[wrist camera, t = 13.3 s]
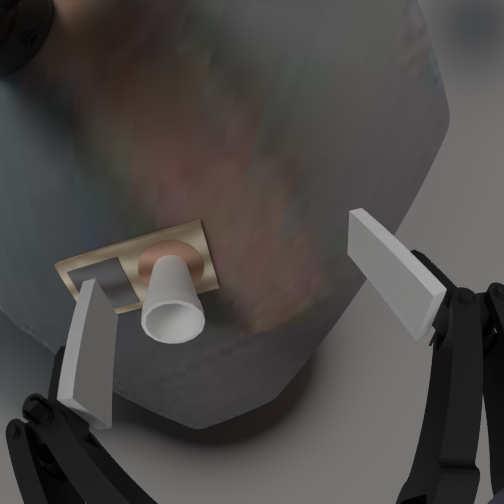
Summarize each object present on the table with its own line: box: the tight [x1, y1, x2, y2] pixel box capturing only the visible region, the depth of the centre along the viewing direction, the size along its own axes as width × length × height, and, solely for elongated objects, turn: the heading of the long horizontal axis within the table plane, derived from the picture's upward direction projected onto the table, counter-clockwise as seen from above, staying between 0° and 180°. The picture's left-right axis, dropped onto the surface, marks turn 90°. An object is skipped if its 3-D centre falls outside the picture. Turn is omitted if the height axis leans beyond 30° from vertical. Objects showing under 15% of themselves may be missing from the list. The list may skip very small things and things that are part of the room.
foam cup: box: [141, 255, 205, 344], centre depth 46 cm, size 10×9×13 cm
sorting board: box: [55, 220, 219, 314], centre depth 51 cm, size 15×29×1 cm, turn 99°
